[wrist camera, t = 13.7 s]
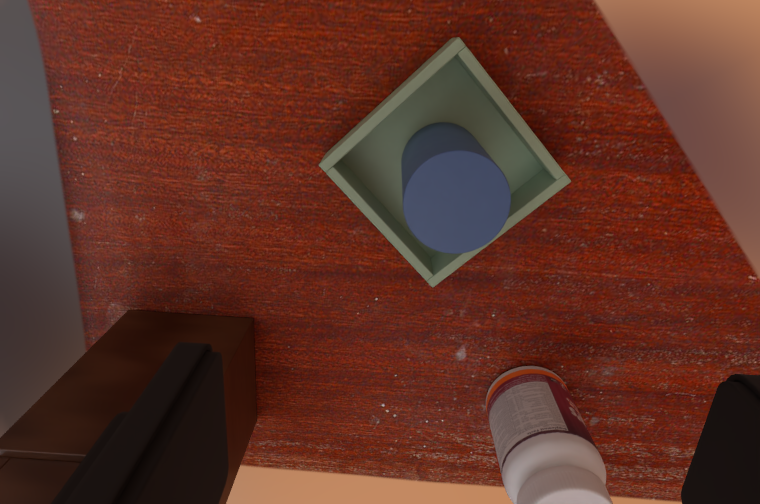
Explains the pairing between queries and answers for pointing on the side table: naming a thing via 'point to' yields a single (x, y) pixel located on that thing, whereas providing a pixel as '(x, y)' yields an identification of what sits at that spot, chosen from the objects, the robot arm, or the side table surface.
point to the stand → (122, 398)
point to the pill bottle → (543, 441)
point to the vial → (452, 190)
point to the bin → (427, 106)
